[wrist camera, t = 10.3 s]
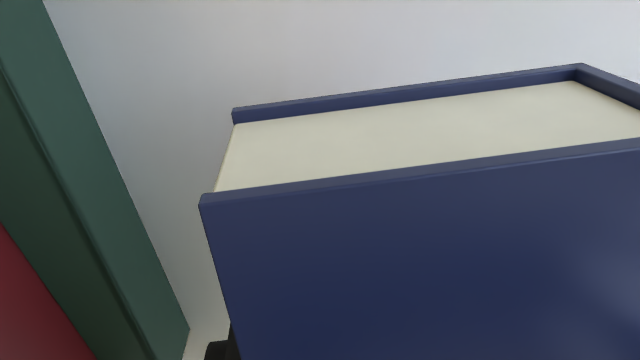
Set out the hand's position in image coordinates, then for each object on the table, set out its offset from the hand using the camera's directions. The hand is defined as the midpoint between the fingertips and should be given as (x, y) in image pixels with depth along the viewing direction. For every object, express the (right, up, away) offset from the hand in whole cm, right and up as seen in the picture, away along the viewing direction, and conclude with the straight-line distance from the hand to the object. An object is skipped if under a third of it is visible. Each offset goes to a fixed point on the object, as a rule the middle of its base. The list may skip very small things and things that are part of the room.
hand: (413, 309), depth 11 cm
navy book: (0, 0, 0) cm, 0 cm away
